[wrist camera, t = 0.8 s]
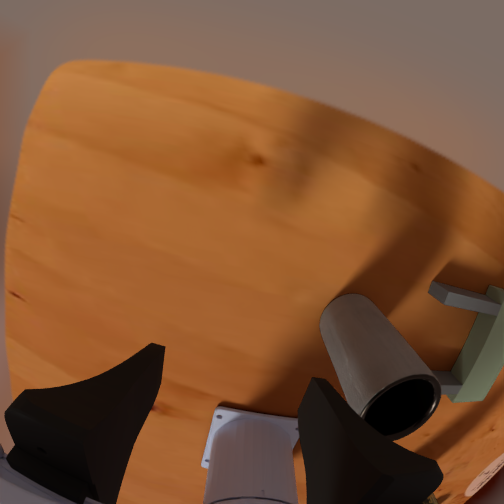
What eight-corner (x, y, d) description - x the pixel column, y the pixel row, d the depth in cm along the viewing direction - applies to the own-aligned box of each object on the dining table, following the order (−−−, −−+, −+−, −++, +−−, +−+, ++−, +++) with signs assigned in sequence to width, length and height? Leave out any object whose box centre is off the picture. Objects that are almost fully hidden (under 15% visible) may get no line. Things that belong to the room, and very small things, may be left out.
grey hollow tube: (325, 354, 22) (360, 454, 12) (313, 303, 21) (353, 396, 11) (379, 336, 22) (439, 422, 12) (372, 284, 21) (445, 359, 11)
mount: (471, 387, 24) (482, 400, 21) (385, 385, 23) (395, 403, 21) (516, 293, 21) (531, 302, 19) (436, 268, 21) (453, 278, 18)
